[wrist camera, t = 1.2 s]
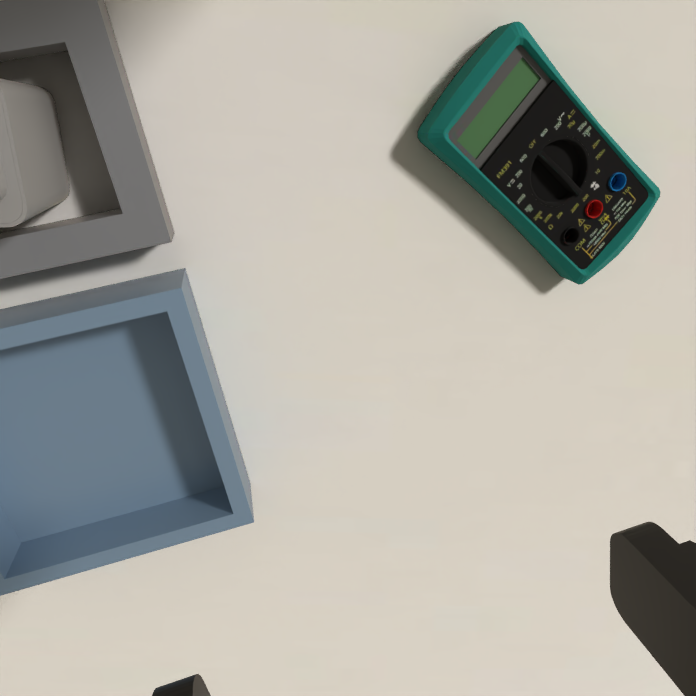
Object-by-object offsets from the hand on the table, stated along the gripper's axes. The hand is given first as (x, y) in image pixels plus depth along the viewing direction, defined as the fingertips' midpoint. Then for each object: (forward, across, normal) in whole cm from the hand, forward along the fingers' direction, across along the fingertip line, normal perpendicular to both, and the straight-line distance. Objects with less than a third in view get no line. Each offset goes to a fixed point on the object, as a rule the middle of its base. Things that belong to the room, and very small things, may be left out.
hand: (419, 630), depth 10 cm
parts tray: (+24, +13, +5) cm, 28 cm away
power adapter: (+25, +10, -10) cm, 28 cm away
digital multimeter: (+25, -16, -3) cm, 30 cm away
